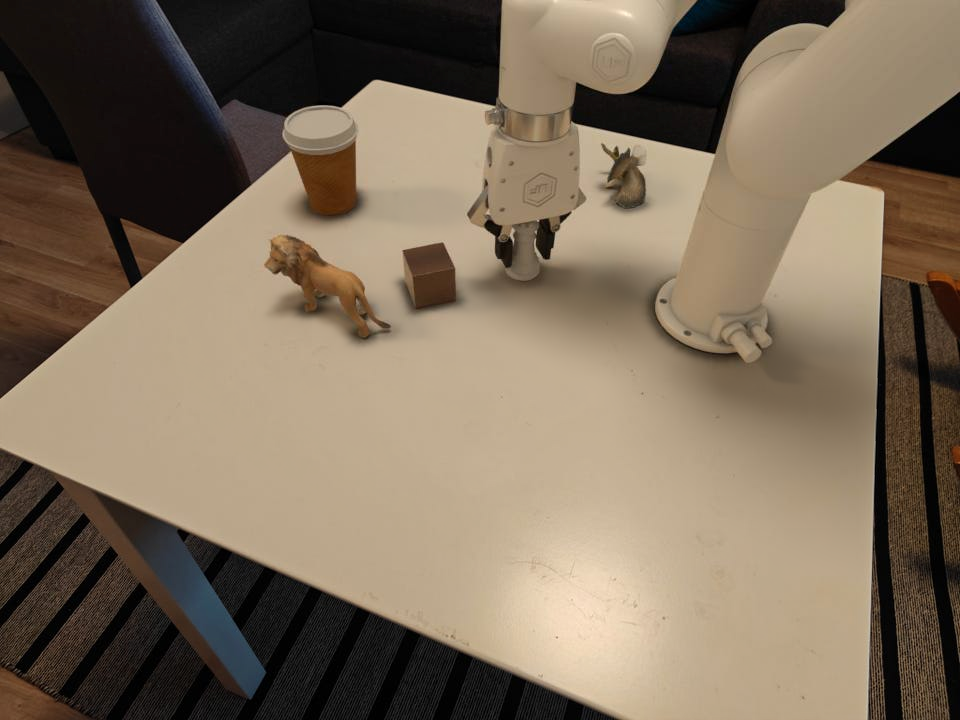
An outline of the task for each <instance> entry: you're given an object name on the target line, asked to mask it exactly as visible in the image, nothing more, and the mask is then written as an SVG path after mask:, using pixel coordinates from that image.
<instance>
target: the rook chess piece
mask: <svg viewBox="0 0 960 720" xmlns="http://www.w3.org/2000/svg"><path fill="white" fill-rule="evenodd" d="M538 222H539V220H535V221H530V222H525V223H519V224H514V225H513V226H512V229H513V230H514V231H513V232H512V238H513V253H512V266H510V268H505V266H504V272H505V273H506V274H507V276H508V277H509V278H510V279H512V280H514V281H518V282H528V281H531V280H533V279H535V277H537V276H538V275H539V273H540V271H541V267H540V265H541V262H540V257H539V256H538V254H537V252H536V249H535V248H536V246H535V241H536V234H537V230H538V228H539V223H538Z"/></svg>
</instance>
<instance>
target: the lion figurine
mask: <svg viewBox="0 0 960 720" xmlns="http://www.w3.org/2000/svg"><path fill="white" fill-rule="evenodd" d="M268 240H269V242H270V251H269V257H268V259H267V260H266V262H264V265H263V266H264V268H265V269H267V270H268V271H269V272H271V273H272V274H273V275H274V276H276V275H278V274H280V273H281V274H282V276H284V277H288V278H289V279H290V280H291V281H292V283H293V284H295V285H297V286H299V287H300V288H301V290H302V293H303V295H304V298H306V300H307V302H308V303H305V305H304V310H305V311H306V312H307V313H309V312H310V313H311V312H314V311H315V310H316V309H317V308H318V302H317V299H316V298H315V296H316V297H318V298H322V297H325V296H326V295H327V296H330V297H338V300H339V303H340V305H341V307H342V308H343V311H344V312H345V313H346V315H347V316H348V317H349V318H350V319H351V320H352V321H353V322H355V323H356V325H357V326H358V327H359V328H358V330H357V334H358V337H360V338H362V339H363V338H364V339H365V338H367V337H368V336H369V335H370V328H369V325H368V324H367V321H366V320H365V319H364V318H363V317H362V316H361V315H364V314H367V315H368V316H369V318H370V320H371V321H372V322H374V323H375V324H376V325H377V326H379V327H380V328H381V329H382V330H389V329H391V328H392V326H391V324H389V323H388V322H384V321H382V320H379V319H378V318H377V317H376V316H375V314H374V313H373V310H372V308H371V306H370V304H369V302H368V299H367V297H366V295H365V291H366V287H365V285H364V283H363V281H362V280H361V279H360V278H359V277H358V275H356V274H355V273H354V272H352V271H348V270H344V269H341V268H340V267H337V266H335V265H334V264H331V263H330V262H327V261H326V260H324V259H323V258H322V257H321V256H320V254H319V252H318V251H317V249H315V247H313V246H312V245H311V244H308V243H306V242H305V241H304V240H302V239H300V238H297V236H292V235H289V234H278V235H277V236H275V237H273V238H269V239H268ZM357 302H358V304H359V305H358V306H357Z"/></svg>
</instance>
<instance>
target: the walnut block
mask: <svg viewBox="0 0 960 720" xmlns="http://www.w3.org/2000/svg"><path fill="white" fill-rule="evenodd" d="M401 251H402V260H403V270H404V272H403V273H404V281H405V285H406V287H407V290H408V293H409V295H410V298H411V301H412V303H413V306H414V309H416V310H417V309H421V308H425V307H430V306H435V305H440V304H443V303H450V302H454V301H456V300H457V288H456V286H457V285H456V282H457V281H456V267H455V264H454V262H453V260H452V257H451V256H450V254H449V252H448V249H447V247H446V245H445V243H444V242H438V243H437V242H436V243H432V244H426V245H420V246H416V247H411V248H406V249H402V250H401Z"/></svg>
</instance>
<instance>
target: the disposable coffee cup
mask: <svg viewBox="0 0 960 720" xmlns="http://www.w3.org/2000/svg"><path fill="white" fill-rule="evenodd" d="M283 124H284V126H283V130H282V138H283V141H284V142H285V143H286V145H287V146H288V147H289V150H290V151H291V155H292V157H293V160H294V163H295V165H296V168H297V171H298V173H299V176H300V179H301V182H302V184H303V187H304V190H305V192H306V193H305V194H306V196H307V198H308V202H309V203H310V206H311V209H312V210H313V211H314V212H316V213H318V214H320V215H324V216H337V215H342V214H345V213H347V212H349V211H351V210H352V209H353V208H354V207H355V206H356V205H357V144H356V143H357V142H356V140H357V137H358V133H359V126H358V123H357V122H356V121H355V119H354V117H353V115H352V114H351V113H350V112H349V111H348V110H347V109H345V108H342V107H339V106H335V105H324V104H323V105H321V104H320V105H311V106H306V107H303V108H300V109H298V110H295V111H293V112H292V113H290V114H289V115H288V116H286V119H285V120H284V123H283Z"/></svg>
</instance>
